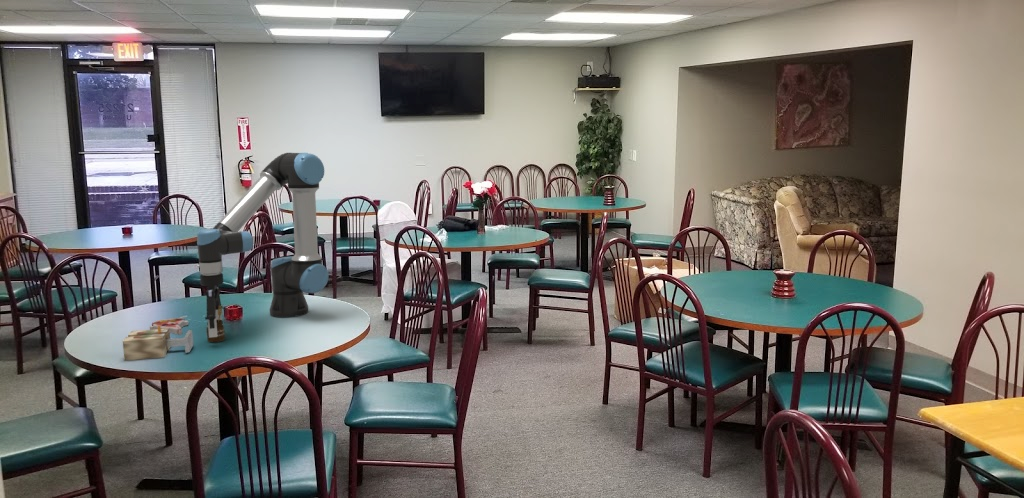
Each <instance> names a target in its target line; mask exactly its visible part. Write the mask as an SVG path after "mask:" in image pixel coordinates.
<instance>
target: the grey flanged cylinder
mask: <svg viewBox="0 0 1024 498" xmlns="http://www.w3.org/2000/svg"><path fill="white" fill-rule="evenodd" d="M158 334H161V325H158ZM165 341H166V347H170V348H174V347H184V352H185V353H186V354H187V353H190V352H191V350H192V348H193V346H194V338H193V330H192V329H189V330H187V332H186V334H185V335H184V337H180V338H177V337H176V338H170V339H165Z"/></svg>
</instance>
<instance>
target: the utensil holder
mask: <svg viewBox="0 0 1024 498" xmlns="http://www.w3.org/2000/svg"><path fill="white" fill-rule="evenodd" d="M222 306H223V305H221V306H219V307H220V309H219V308H218V315H219V319H218V320H216V322H217V335H218V337H210V338H209V330H208V321H207V324H206V326H207V327H206V336H207V337H206V338H207V342H209V343H220V342H223V341H225V340H226V330H225V326H224V321H223V320H220V315H221V316H222V313H223V309H222ZM220 311H221V312H220ZM206 316H207V313H206ZM206 316H205V317H206Z"/></svg>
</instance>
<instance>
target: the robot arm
mask: <svg viewBox="0 0 1024 498" xmlns="http://www.w3.org/2000/svg"><path fill="white" fill-rule="evenodd" d="M324 176H325V166H324V162H322V160H321V159H320V158H319V157H318V156H317V155H315V154H313V153H308V152H285V153H282V154H280V155H278V156H277V157H275V158H274V159H273V160H272V161H271V162H269V163H268V164H267V165H266V166H265V167H264V168H263V169H262V171H261V172H260V173H259V178H258V179H257V180H256V181H255V182H254V183H253V184H252V186H251V187H250V188H249V189H248V190H247V191H246V192H245V193H244V194H243V195H242V196H241V197H240V198H239V199H238V201H237V202H236V203H235V204H234V205H233V206H232V207H231V208H230V209H229V210H228V211H227V212H226V214H224V216H223V217H222V218H221V219H220V220H219V221H218V222H217V223H216V224H215V226H213V227H212V228H207V229H206V228H205V229H200V230H199V231H197V234H196V238H197V239H196V244H197V253H198V264H197V268H199V274H200V275H199V280H200V285H201V286H203V287H207V289H206V291H205V296H206V314H207V316H205V317H204V320H207V322H208V326H207V327H208V330H209V338H210V337H218V335H217V322H216V320H218V319H219V315H218V308H219V310H220V307H219V306H222V310H223V308H224V307H223V305H222V301H221V295H220V288H219V287H220V285H222V284H224V274H223V270H224V269H223V258H222V256H225V255H231V254H241V253H246V252H250V251H251V250H252V249H253V247H254V238H253V236H252V234H251V233H250V232H249V231H246V230H244V231H242V230H241V229H242V228H243V227H244V226H245V225H246V223H247V222H248V221H249V220H250V219H251V218H252V217H253V216H254V215H255V213H257V211H258V210H259V209H260V208H261V207H262V206H263V205H264V204H265V202H266V201H267V200H268V199H269V198H270V197H271V196H272V195H273V194H274V193H275V192H276V191H280V190H281V189H282V188H283V187H284V186H286V185H287V189H288V190H289V191H290V193H291V194H292V211H293V213H292V214H293V236H294V238H293V239H294V255H292V256H290V255H289V256H284V257H277V258H273V259H272V261H271V268H270V270H271V282H272V283H271V284H272V300H271V304H270V306H269V307H270V308H269V315H270V316H271V317H275V318H292V317H300V316H303V315H306V314H308V313H309V312H310V311H309V305H308V302H307V300H306V296H305V295H304V293H306V294H316V293H319V292H320V291H322V290H323V289H324V288H325V287H326V286H327V284H328V281H329V276H330V275H329V271H328V270H329V269H327V267H326V266H325V265H323V257H322V255H320V254H319V253H318V252H319V249H318V228H317V226H318V225H317V223H318V222H317V204H316V203H317V202H316V193H317V191H318V190H319V189H320V182H321V181H322V179H323V178H324ZM220 312H221V311H220ZM220 320H222V314H221V315H220ZM222 321H223V320H222Z"/></svg>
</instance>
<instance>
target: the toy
mask: <svg viewBox="0 0 1024 498" xmlns="http://www.w3.org/2000/svg"><path fill="white" fill-rule="evenodd" d="M186 317H187V318H188V315H183V316H180V317H176V318H167V319H165V318H164V319H159V320H155V321H154V322H152V323H151V326H150V325H149V330H154V329H158V325H161V329H167V328H169V331H170V334H173V335H174V334H175V335H178V336H181V334H183V329H182V328H183V327H185V326H189V320H186V319H184V318H186Z"/></svg>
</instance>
